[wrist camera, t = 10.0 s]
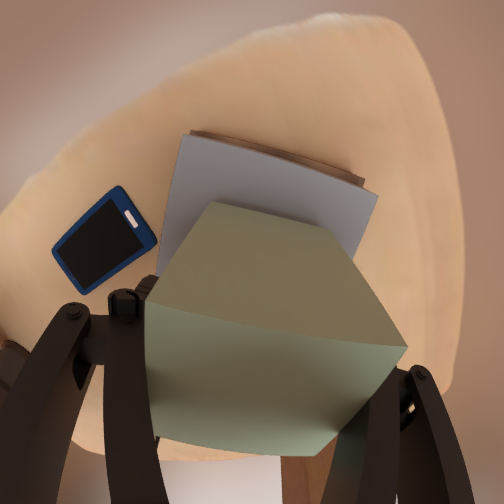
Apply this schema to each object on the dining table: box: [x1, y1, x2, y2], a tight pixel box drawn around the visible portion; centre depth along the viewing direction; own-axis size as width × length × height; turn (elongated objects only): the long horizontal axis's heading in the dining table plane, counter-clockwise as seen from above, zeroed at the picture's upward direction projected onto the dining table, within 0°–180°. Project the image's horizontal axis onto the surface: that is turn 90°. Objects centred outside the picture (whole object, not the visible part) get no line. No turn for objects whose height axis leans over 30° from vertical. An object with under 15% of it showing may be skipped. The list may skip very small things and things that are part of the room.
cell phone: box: [52, 186, 157, 295], centre depth 26 cm, size 7×14×1 cm, turn 121°
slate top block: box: [156, 134, 378, 277], centre depth 20 cm, size 13×13×4 cm
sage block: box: [145, 201, 408, 456], centre depth 12 cm, size 7×7×10 cm
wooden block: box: [281, 434, 338, 504], centre depth 28 cm, size 10×10×20 cm
